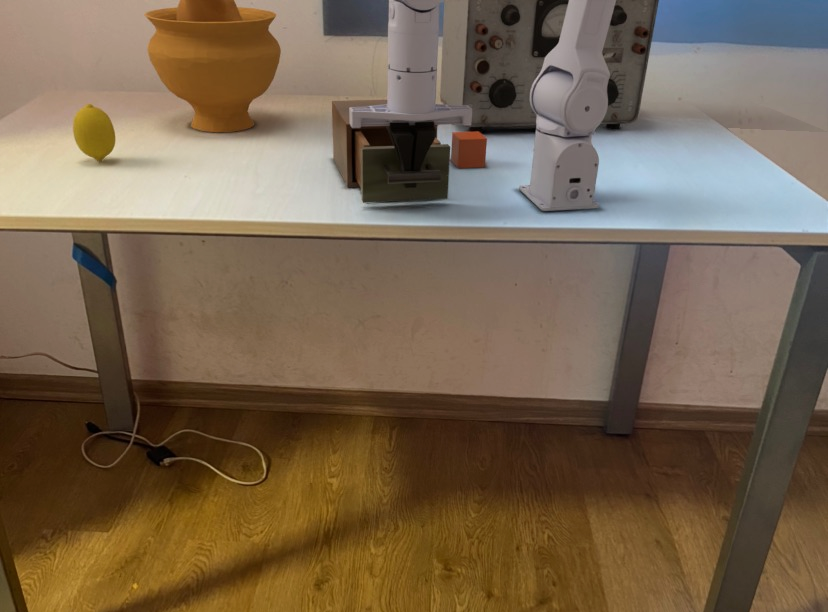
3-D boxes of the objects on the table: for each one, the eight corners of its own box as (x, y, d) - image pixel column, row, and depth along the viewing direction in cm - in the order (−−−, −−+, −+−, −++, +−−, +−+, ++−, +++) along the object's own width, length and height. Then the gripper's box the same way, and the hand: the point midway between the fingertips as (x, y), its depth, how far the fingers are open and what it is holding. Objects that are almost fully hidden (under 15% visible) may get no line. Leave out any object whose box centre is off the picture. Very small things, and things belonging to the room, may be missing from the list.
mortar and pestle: (298, 135, 131) (287, -79, 114) (167, 144, 124) (135, -82, 107) (269, 107, 147) (256, -84, 130) (151, 114, 140) (122, -87, 124)
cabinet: (435, 183, 111) (437, 121, 106) (347, 187, 109) (346, 124, 104) (413, 156, 122) (414, 99, 118) (333, 159, 120) (331, 100, 115)
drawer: (457, 211, 99) (461, 157, 95) (369, 216, 97) (369, 160, 93) (424, 170, 114) (426, 121, 110) (347, 173, 111) (346, 123, 108)
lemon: (78, 167, 113) (66, 109, 108) (81, 157, 117) (69, 100, 113) (119, 166, 114) (108, 107, 110) (120, 155, 118) (110, 99, 114)
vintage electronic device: (463, 138, 132) (474, -34, 118) (439, 112, 147) (446, -43, 133) (640, 134, 138) (670, -31, 124) (600, 109, 152) (622, -40, 139)
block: (485, 167, 118) (487, 138, 116) (458, 168, 118) (459, 139, 115) (477, 159, 122) (479, 131, 120) (450, 160, 121) (452, 132, 119)
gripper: (463, 61, 96) (456, 173, 104) (344, 62, 93) (346, 177, 101) (480, 72, 90) (471, 190, 98) (354, 73, 87) (355, 195, 95)
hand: (409, 185), depth 99 cm, fingers closed, pressing on drawer
